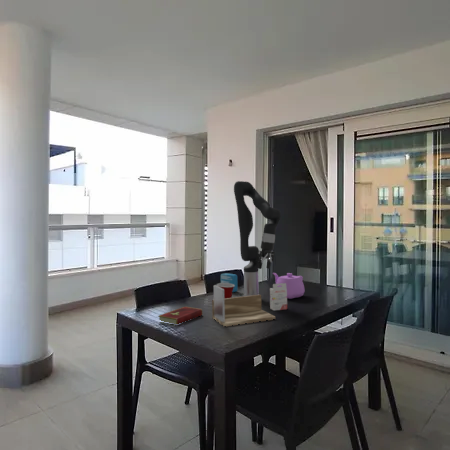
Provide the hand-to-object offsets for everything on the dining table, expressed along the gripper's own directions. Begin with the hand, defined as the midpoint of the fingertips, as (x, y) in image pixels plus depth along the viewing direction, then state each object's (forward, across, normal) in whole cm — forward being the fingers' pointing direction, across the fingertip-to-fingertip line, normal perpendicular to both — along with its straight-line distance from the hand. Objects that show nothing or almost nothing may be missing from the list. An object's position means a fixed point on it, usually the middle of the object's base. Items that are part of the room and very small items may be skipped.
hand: (263, 268), depth 213 cm
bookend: (+24, +40, +6) cm, 47 cm away
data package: (+24, -18, -39) cm, 50 cm away
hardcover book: (+30, +48, -13) cm, 58 cm away
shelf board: (+24, +28, +12) cm, 38 cm away
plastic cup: (+25, +10, -16) cm, 31 cm away
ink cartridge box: (+20, +1, +15) cm, 25 cm away
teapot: (+18, -29, +2) cm, 34 cm away
